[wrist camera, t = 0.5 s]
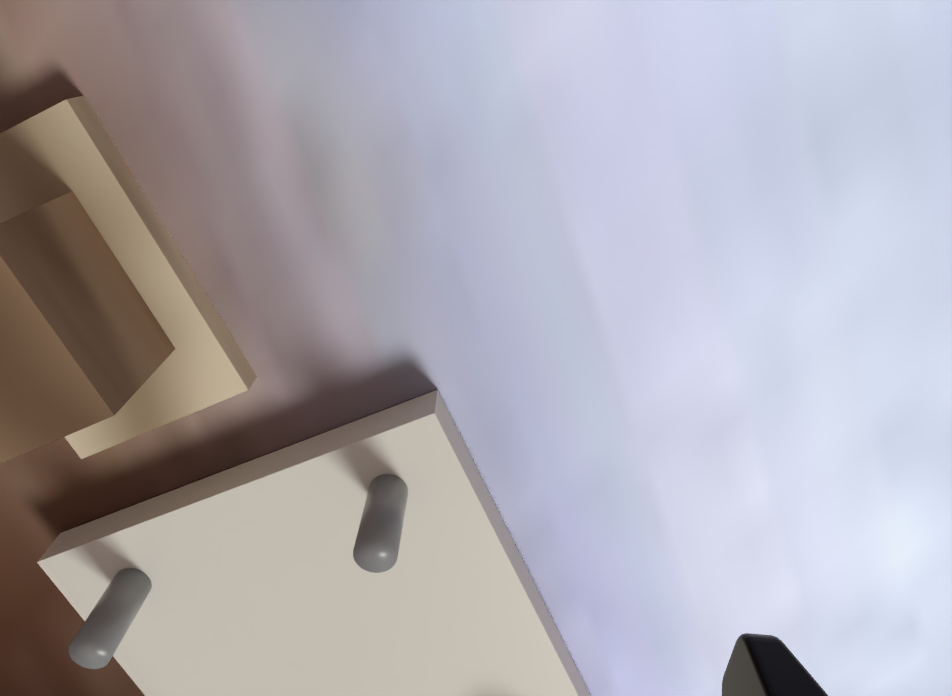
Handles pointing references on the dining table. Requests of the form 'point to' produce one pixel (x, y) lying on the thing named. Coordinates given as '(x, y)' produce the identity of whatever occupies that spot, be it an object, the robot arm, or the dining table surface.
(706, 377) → the dining table surface
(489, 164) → the dining table surface
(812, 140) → the dining table surface
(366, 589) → the chassis
